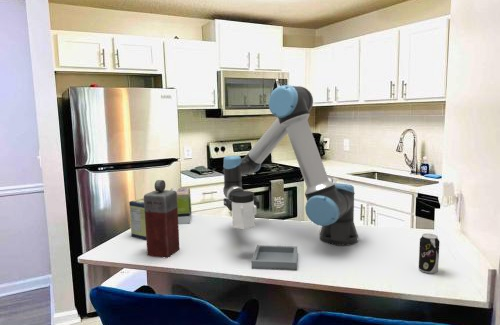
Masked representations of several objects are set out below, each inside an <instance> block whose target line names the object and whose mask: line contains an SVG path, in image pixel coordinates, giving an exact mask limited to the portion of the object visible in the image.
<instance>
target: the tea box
mask: <svg viewBox="0 0 500 325" xmlns="http://www.w3.org/2000/svg"><path fill="white" fill-rule="evenodd" d="M170 190H171V191H176V192H177V208H178V225H186V224H191V220H192V216H193V215H192V214H193V213H192V199H191V187H177V188H176V187H175V188H170Z"/></svg>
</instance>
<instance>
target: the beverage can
mask: <svg viewBox="0 0 500 325" xmlns="http://www.w3.org/2000/svg"><path fill="white" fill-rule="evenodd" d="M440 243H441V242H440V239H439V238H438V235H436V234H433V233H428V232H427V233H422V235H421V237H420V238H419V250H418V251H419V252H418V269H419V270H420V271H421V272H423V273H425V274H430V275H431V274H435V273H437V272H438V271H439V260H440Z"/></svg>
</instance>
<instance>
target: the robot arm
mask: <svg viewBox="0 0 500 325" xmlns="http://www.w3.org/2000/svg"><path fill="white" fill-rule="evenodd" d="M313 105H314V97H313V94H312V93H311V91H310V90H309V89H307V88H306V87H304V86H301V85H299V86H296V85H290V84H286V85H284V84H283V85H280V86H277V87H276V88H274V89H273V90H272V92H271V93H270V96H269V98H268V109H269V111H270V113H271V114H272V115H273V116H274V117H276V119H274V121H273V122H272V124H271V125H270V126H269V128H268V129H267V130H266V131H265V132H264V134H262V136H261V137H260V138H259V139H258V140H257V142H256V143H255V144H254V145H253V146H252V148H251V149H250V150H249V152H248V153H247V154H245V156H244V157H242V158H241V156H240V155H226V156H224V158H223V166H222V167H223V179H224V180H223V181H224V182H223V190H222V191H223V194H224V197H225V198H223V206H225V207H226V208H227V209H228V210H229V211H231V212H232V196H231V194H232V193H234V192H238V191H245V190H244V189H243V187H242V186H243V185H242V184H243V182H242V177H243V176H245V175H249V174H254V173H256V172H259V170H260V169H261V168H262V167H261V166H262V163H263V162H264V161H265V159H267V158H268V157H269V155H270V154H271V153H272V152H273V150H274V149H275V148H276V147H277V145H278V144H280V142H281V141H282V140H283V139H284V138H285V137H286V135H288V137H289V140H290V143H291V146H292V149H293V151H294V152H293V153H294V155H295V158H296V160H297V164H298V168H299V169H300V172H301V175H302V177H303V181H304V183H305V186H306V190H305V191H304V195H305V198H306V204H305V207H304V209H305V214H306V217H307V218H308V219H309V220H310V222H312V223H313V224H315V225H317V226H320V231H319V240H320V241H322V242H323V243H324V244H328V245H332V246H333V245H335V246H350V245H355V244H356V243H358V240H359V237H358V236H359V234H358V231H357V228H356V225H355V221H354V216H355V195H356V194H355V187H354V186H353V185H352V184H348V183H339V182H337V183H336V182H332V181H330V180H329V177H328V174H327V171H326V169H325V165H324V164H323V160H322V157H321V155H320V152H319V149H318V146H317V144H316V140H315V138H314V134H313V133H312V129H311V126H310V123H309V120H308V119H309V117H310V115H311V114H310V112H311V110H312V108H313ZM260 206H261V204H260V200H259V199H258V196H256V195H254V206H253V213H254V214H255V216H256V215H257V214H258V209H260ZM241 216H244V208H243V207H241Z"/></svg>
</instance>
